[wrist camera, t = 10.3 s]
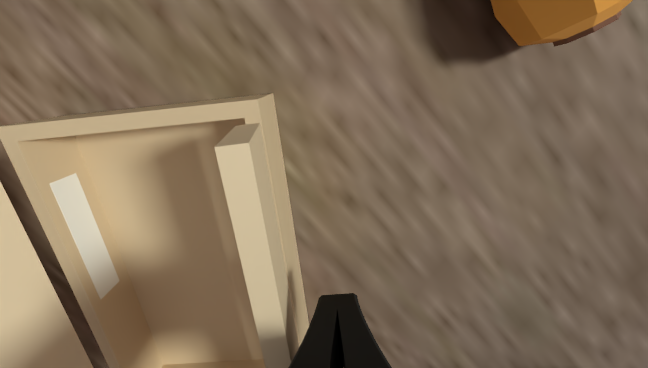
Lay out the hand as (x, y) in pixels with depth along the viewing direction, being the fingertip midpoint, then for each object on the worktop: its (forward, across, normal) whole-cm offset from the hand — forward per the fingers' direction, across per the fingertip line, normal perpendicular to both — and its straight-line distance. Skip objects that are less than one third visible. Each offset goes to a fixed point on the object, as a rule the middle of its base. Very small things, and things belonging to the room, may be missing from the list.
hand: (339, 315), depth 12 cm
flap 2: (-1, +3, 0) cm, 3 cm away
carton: (+5, +7, 0) cm, 9 cm away
